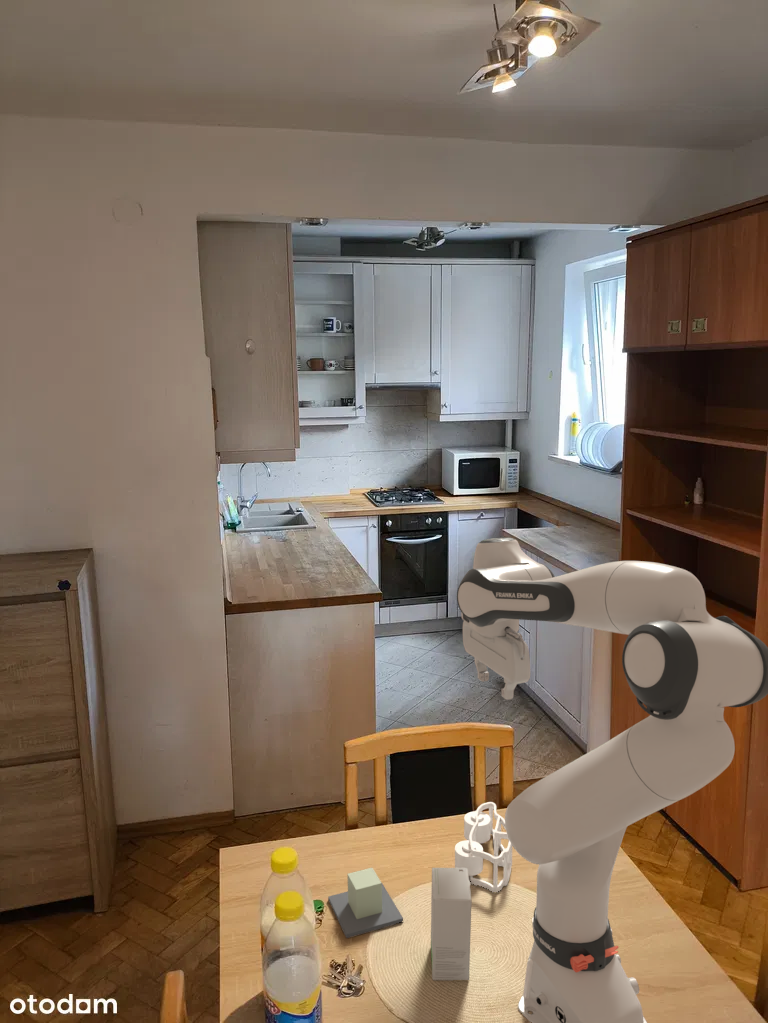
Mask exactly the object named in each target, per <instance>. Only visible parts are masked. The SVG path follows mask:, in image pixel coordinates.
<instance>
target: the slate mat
mask: <svg viewBox="0 0 768 1023" xmlns="http://www.w3.org/2000/svg"><path fill="white" fill-rule="evenodd" d="M381 883H382V912H381V913H378V914H374V915H371V916H367V917H363V918H360V919H356V917H355V915H354V913H353V911H352V909H351V907H350V905H349V903H348V890H347V891H343V892H339V893H336V894H332V895H329V896H328V897H327V898H328V903H329V905H330V907H331V909H332V911H333V913H334V915H335V917H336V920H337V921H338V923H339V925H340V928H341V930H342V932H343V934H344V936H345V938H346V939H348V938H352V937H355V936H356V937H357V936H359V935H363V934H366V933H369V932H374V931H376V930H380V929H384V928H387V927H391V926H394V925H397V924H396V923H398V924H400V923H399V922H402V921H403V922H404V917H403V915H402V914H401V912H400V910H399V909H398V907H397V905H396V904H395V902H394V900H393V898H392V897H391V895H390V894H389V892H388V891H387V888H386V887H385V885H384V884H383V882H382V881H381ZM403 922H402V923H403Z"/></svg>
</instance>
